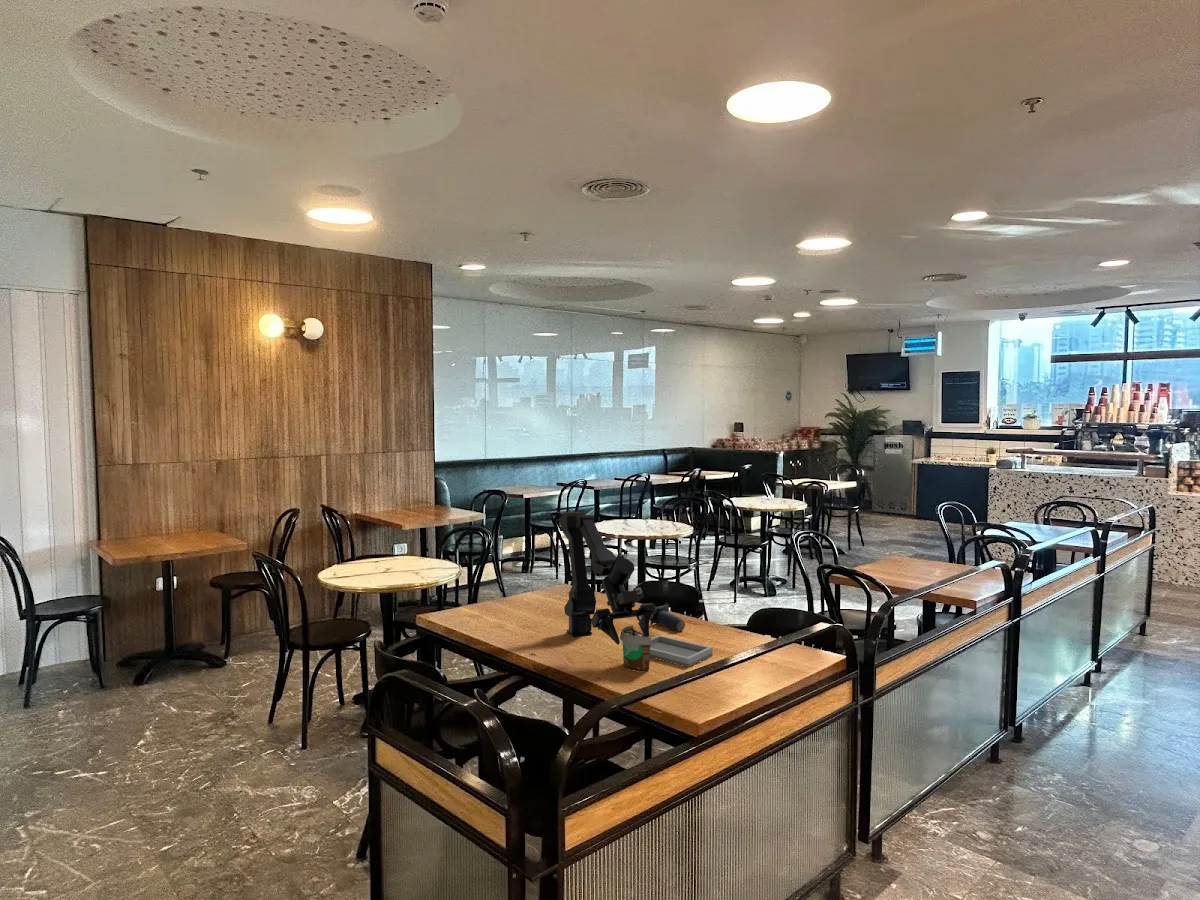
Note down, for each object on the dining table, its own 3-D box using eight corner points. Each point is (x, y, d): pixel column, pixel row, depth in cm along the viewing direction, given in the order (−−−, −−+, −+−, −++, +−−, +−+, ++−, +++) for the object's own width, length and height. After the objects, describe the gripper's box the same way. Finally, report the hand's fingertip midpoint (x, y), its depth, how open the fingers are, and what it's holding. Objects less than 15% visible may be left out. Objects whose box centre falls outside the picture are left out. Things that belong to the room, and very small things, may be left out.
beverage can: (649, 628, 248) (674, 639, 238) (647, 607, 246) (671, 617, 237) (669, 619, 253) (693, 629, 243) (666, 598, 251) (691, 607, 242)
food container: (612, 661, 210) (612, 627, 210) (631, 659, 213) (632, 625, 212) (631, 676, 199) (631, 639, 199) (651, 672, 201) (651, 637, 201)
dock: (688, 667, 206) (688, 658, 206) (634, 653, 218) (634, 645, 218) (712, 655, 216) (712, 647, 216) (658, 642, 228) (659, 634, 228)
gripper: (595, 581, 205) (612, 631, 195) (653, 575, 213) (673, 622, 203) (584, 602, 212) (600, 651, 203) (640, 596, 220) (658, 642, 211)
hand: (633, 641), depth 205 cm, fingers open, 9 cm apart
